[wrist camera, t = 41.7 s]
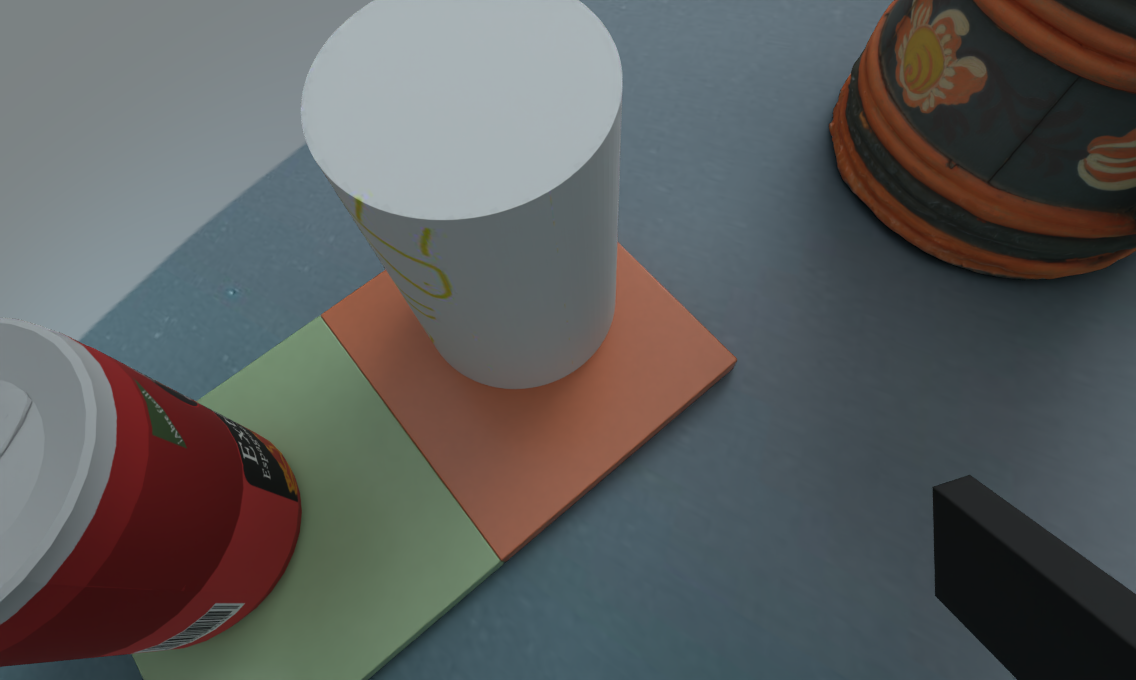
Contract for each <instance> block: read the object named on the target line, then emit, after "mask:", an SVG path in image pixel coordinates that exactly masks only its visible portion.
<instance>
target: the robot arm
mask: <svg viewBox="0 0 1136 680" xmlns="http://www.w3.org/2000/svg"><path fill="white" fill-rule="evenodd" d="M933 522H934V564H935V596H936V597H937V598H938V599H939V600H940V601H941V602H942V603H943V604H944V605H945V606H946V607H947V608H948V609H949V610H950V611H951V612H952V613H953V614H954V615H955V616H956V617H957V618H958V620H959V621H960V622H961V623H962V624H963V625H964V626H965V627H966V628H967V629H968V630H969V631H970V632H971V633H972V634H973V635H974V636H975V637H976V638H977V639H978V640H979V641H980V642H981V643H982V644H983V645H984V646H985V647H986V648H987V649H988V650H989V651H990V652H991V653H992V654H993V655H994V656H995V657H996V658H997V659H998V660H999V661H1000V662H1001V663H1002V664H1003V665H1004V666H1005V668H1006V669H1007V670H1008V671H1009V672H1010V673H1011V674H1012V675H1013V676H1014V677H1015V678H1016V679H1017V680H1136V594H1135V593H1133V592H1132V591H1130V590H1129V589H1128V588H1126V587H1125V586H1123V585H1122V584H1121V583H1119V582H1118V581H1117V580H1115V579H1114V578H1112V577H1111V576H1110V575H1108V574H1107V573H1105V572H1104V571H1103V570H1101V569H1100V568H1098V567H1097V566H1096V565H1094V564H1093V563H1092V562H1090V561H1089V560H1087V559H1086V558H1085V557H1083V556H1082V555H1080V554H1079V553H1078V552H1076V551H1075V550H1073V549H1072V548H1071V547H1069V546H1068V545H1067V544H1065V543H1064V542H1062V541H1061V540H1060V539H1058V538H1057V537H1055V536H1054V535H1053V534H1051V533H1050V532H1048V531H1047V530H1046V529H1044V528H1043V527H1042V526H1040V525H1039V524H1037V523H1036V522H1035V521H1033V520H1032V519H1030V518H1029V517H1028V516H1026V515H1025V514H1024V513H1022V512H1021V511H1019V510H1018V509H1017V508H1015V507H1014V506H1012V505H1011V504H1010V503H1008V502H1007V501H1005V500H1004V499H1003V498H1001V497H1000V496H999V495H997V494H996V493H994V492H993V491H992V490H990V489H989V488H987V487H986V486H985V485H983V484H982V483H980V482H979V481H978V480H976V479H975V478H974V477H972V476H971V475H968V476H965V477H962V478H959V479H955V480H952V481H949V482H946V483H943V484H940V485H937V486H934V487H933Z"/></svg>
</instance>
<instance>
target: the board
mask: <svg viewBox="0 0 1136 680" xmlns="http://www.w3.org/2000/svg"><path fill="white" fill-rule="evenodd" d="M736 362H737V358H736V357H735V356H734V355H733V354H732V353H731V352H730V351H728V350H727V349H726V348H725V347H724V346H723V345H722V344H721V343H720V342H719V341H718V340H717V339H716V338H715V337H714V336H713V335H712V334H711V333H710V332H709V331H708V330H707V329H706V328H705V327H704V326H703V325H702V324H701V323H700V322H699V321H698V320H697V319H696V318H695V317H694V316H693V315H692V314H691V313H690V312H689V311H688V310H687V309H686V308H685V307H684V306H683V305H681V304H680V303H679V302H678V301H677V300H676V299H675V298H674V297H673V296H672V295H671V294H670V293H669V292H668V291H667V290H666V289H665V288H664V287H663V286H662V285H661V284H660V283H659V282H658V281H657V280H656V279H655V278H654V277H653V276H652V275H651V274H650V273H649V272H648V271H647V270H646V269H645V268H644V267H643V266H642V265H641V264H640V263H639V262H638V261H637V260H636V259H634V258H633V257H632V256H631V255H630V254H629V253H628V252H627V251H626V250H625V249H624V248H623V247H622V246H621V245H620V244H619V243H618V242H617V268H616V299H615V311H614V316H613V320H612V323H611V326H610V329H609V331H608V333H607V335H606V337H605V339H604V341H603V342H602V344H601V345H600V347H599V348H598V349H597V351H596V352H595V353H594V354H593V355H592V356H591V358H589V359H588V360H587V361H586V362H585V363H584V364H583V365H582V366H581V367H579V368H578V369H576V370H575V371H574V372H572V373H570V374H569V375H567V376H565V377H563V378H561V379H559V380H557V381H554V382H552V383H549V384H546V385H542V386H538V387H533V388H525V389H504V388H497V387H492V386H488V385H485V384H482V383H479V382H476V381H474V380H472V379H470V378H468V377H466V376H464V375H463V374H461V373H460V372H458V371H457V370H456V369H454V368H453V367H452V366H451V365H450V364H449V363H448V362H447V361H446V360H445V359H444V358H443V357H442V355H441V354H440V353H439V351H438V350H437V348H436V347H435V345H434V344H433V342H432V341H431V339H430V338H429V336H428V334H427V333H426V331H425V330H424V328H423V327H422V325H421V324H420V322H419V320H418V319H417V317H416V316H415V314H414V313H413V311H412V310H411V308H410V306H409V305H408V303H407V302H406V300H405V299H404V297H403V296H402V294H401V293H400V291H399V289H398V288H397V286H396V285H395V283H394V282H393V280H392V279H391V277H390V275H389V274H388V272H387V271H386V270H385V271H383V272H382V273H380V274H379V275H377V276H376V277H375V278H373V279H372V280H370V281H369V282H367V283H366V284H364V285H363V286H362V287H360V288H359V289H357V290H356V291H354V292H353V293H352V294H350V295H349V296H347V297H346V298H344V299H343V300H341V301H340V302H339V303H337V304H336V305H334V306H333V307H331V308H330V309H329V310H327V311H326V312H324V313H323V314H322V315H321V316H318V317H317V318H315V319H314V320H313V321H311V322H310V323H308V324H307V325H305V326H304V327H302V328H301V329H300V330H298V331H297V332H295V333H294V334H292V335H291V336H290V337H288V338H287V339H285V340H284V341H282V342H281V343H279V344H278V345H277V346H275V347H274V348H272V349H271V350H269V351H268V352H267V353H265V354H264V355H262V356H261V357H259V358H258V359H256V360H255V361H254V362H252V363H251V364H249V365H248V366H246V367H245V368H244V369H242V370H241V371H239V372H238V373H236V374H235V375H233V376H232V377H231V378H229V379H228V380H226V381H225V382H223V383H222V384H221V385H219V386H218V387H216V388H215V389H213V390H212V391H210V392H209V393H208V394H206V395H205V396H203V397H202V398H200V399H199V400H198V401H196V402H198V403H200V404H202V405H203V406H205V407H207V408H209V409H211V410H213V411H215V412H217V413H219V414H221V415H223V416H225V417H227V418H228V419H230V420H232V421H234V422H236V423H238V424H240V425H242V426H244V427H246V428H248V429H250V430H251V431H253V432H255V433H257V434H259V435H260V436H262V437H264V438H265V439H267V440H269V441H270V442H271V443H272V444H273V445H274V446H275V447H276V448H277V449H278V450H279V451H280V452H281V453H282V454H283V456H284V458H285V459H286V461H287V463H288V465H289V466H290V468H291V470H292V472H293V474H294V476H295V478H296V482H297V485H298V488H299V491H300V497H301V508H302V515H301V525H300V533H299V537H298V540H297V544H296V547H295V551H294V553H293V555H292V558H291V560H290V562H289V564H288V566H287V568H286V570H285V572H284V574H283V575H282V577H281V578H280V580H279V581H278V583H277V584H276V586H275V587H274V589H273V590H272V592H271V593H270V594H269V595H268V596H267V597H266V598H265V599H264V600H263V601H262V602H261V603H260V604H259V606H258V607H257V608H256V609H254V610H253V611H252V612H251V613H249V614H248V615H247V616H245V617H244V618H243V619H242V620H240V621H239V622H238V623H236V624H235V625H233V626H232V627H230V628H229V629H227V630H225V631H223V632H221V633H220V634H218V635H216V636H214V637H212V638H210V639H209V640H207V641H204V642H201V643H198V644H195V645H192V646H189V647H186V648H181V649H173V650H164V651H155V652H144V653H134V654H132V656H133V658H134V660H135V662H136V664H137V667H138V669H139V671H140V673H141V675H142V677H143V679H144V680H368V679H369V678H370V677H371V676H373V675H374V674H375V673H376V672H377V671H379V670H380V669H381V668H382V667H383V666H384V665H386V664H387V663H388V662H389V661H390V660H391V659H393V658H394V657H395V656H396V655H397V654H398V653H400V652H401V651H402V650H403V649H404V648H406V647H407V646H408V645H409V644H410V643H411V642H413V641H414V640H415V639H416V638H417V637H418V636H420V635H421V634H422V633H423V632H424V631H425V630H427V629H428V628H429V627H430V626H431V625H433V624H434V623H435V622H436V621H437V620H438V619H440V618H441V617H442V616H443V615H444V614H445V613H447V612H448V611H449V610H450V609H451V608H452V607H454V606H455V605H456V604H457V603H458V602H460V601H461V600H462V599H463V598H464V597H465V596H467V595H468V594H469V593H470V592H471V591H472V590H474V589H475V588H476V587H477V586H478V585H479V584H481V583H482V582H483V581H484V580H485V579H487V578H488V577H489V576H490V575H491V574H492V573H494V572H495V571H496V570H497V569H498V568H499V567H501V566H502V565H503V564H504V562H506V561H508V560H509V559H510V558H511V557H512V556H513V555H515V554H516V553H517V552H518V551H519V550H521V549H522V548H523V547H524V546H525V545H526V544H528V543H529V542H530V541H531V540H532V539H533V538H535V537H536V536H537V535H538V534H539V533H540V532H542V531H543V530H544V529H545V528H546V527H548V526H549V525H550V524H551V523H552V522H553V521H555V520H556V519H557V518H558V517H559V516H560V515H562V514H563V513H564V512H565V511H566V510H567V509H569V508H570V507H571V506H572V505H573V504H575V503H576V502H577V501H578V500H579V499H580V498H582V497H583V496H584V495H585V494H586V493H587V492H589V491H590V490H591V489H592V488H593V487H594V486H596V485H597V484H598V483H599V482H600V481H602V480H603V479H604V478H605V477H606V476H607V475H609V474H610V473H611V472H612V471H613V470H614V469H616V468H617V467H618V466H619V465H620V464H621V463H623V462H624V461H625V460H626V459H627V458H629V457H630V456H631V455H632V454H633V453H634V452H636V451H637V450H638V449H639V448H640V447H641V446H643V445H644V444H645V443H646V442H647V441H648V440H650V439H651V438H652V437H653V436H654V435H656V434H657V433H658V432H659V431H660V430H661V429H663V428H664V427H665V426H666V425H667V424H668V423H670V422H671V421H672V420H673V419H674V418H675V417H677V416H678V415H679V414H680V413H681V412H683V411H684V410H685V409H686V408H687V407H688V406H690V405H691V404H692V403H693V402H694V401H695V400H697V399H698V398H699V397H700V396H701V395H702V394H704V393H705V392H706V391H707V390H708V389H710V388H711V387H712V386H713V385H714V384H715V383H717V382H718V381H719V380H720V379H721V378H722V377H724V376H725V375H726V374H727V373H728V372H729V371H731V370H732V369H733V367H734V366H735V364H736Z"/></svg>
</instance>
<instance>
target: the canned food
mask: <svg viewBox="0 0 1136 680" xmlns="http://www.w3.org/2000/svg"><path fill="white" fill-rule="evenodd" d="M301 515H302V508H301V497H300V491H299V488H298V485H297V482H296V478H295V476H294V474H293V472H292V470H291V468H290V466H289V465H288V463H287V461H286V459H285V458H284V456H283V454H282V453H281V452H280V451H279V450H278V449H277V448H276V447H275V446H274V445H273V444H272V443H271V442H270V441H269V440H267V439H265V438H264V437H262V436H260V435H259V434H257V433H255V432H253V431H251V430H250V429H248V428H246V427H244V426H242V425H240V424H238V423H236V422H234V421H232V420H230V419H228V418H227V417H225V416H223V415H221V414H219V413H217V412H215V411H213V410H211V409H209V408H207V407H205V406H203V405H202V404H200V403H198V402H196V401H194V400H192V399H190V398H188V397H186V396H184V395H182V394H180V393H179V392H177V391H175V390H173V389H171V388H169V387H167V386H165V385H163V384H161V383H159V382H157V381H155V380H154V379H152V378H150V377H148V376H146V375H144V374H142V373H140V372H138V371H136V370H134V369H132V368H131V367H129V366H127V365H125V364H123V363H121V362H119V361H117V360H115V359H113V358H111V357H109V356H107V355H106V354H104V353H102V352H100V351H98V350H96V349H94V348H91V347H89V346H86V345H84V344H82V343H80V342H78V341H76V340H74V339H72V338H70V337H68V336H66V335H64V334H62V333H60V332H56V331H53V330H49V329H47V328H45V327H43V326H39V325H36V324H33V323H29V322H26V321H23V320H19V319H13V318H12V319H11V318H0V667H2V666H12V665H22V664H32V663H42V662H53V661H63V660H73V659H83V658H93V657H104V656H114V655H124V654H134V653H144V652H155V651H164V650H173V649H181V648H186V647H189V646H192V645H195V644H198V643H201V642H204V641H207V640H209V639H210V638H212V637H214V636H216V635H218V634H220V633H221V632H223V631H225V630H227V629H229V628H230V627H232V626H233V625H235V624H236V623H238V622H239V621H240V620H242V619H243V618H244V617H245V616H247V615H248V614H249V613H251V612H252V611H253V610H254V609H256V608H257V607H258V606H259V604H260V603H261V602H262V601H263V600H264V599H265V598H266V597H267V596H268V595H269V594H270V593H271V592H272V590H273V589H274V587H275V586H276V584H277V583H278V581H279V580H280V578H281V577H282V575H283V574H284V572H285V570H286V568H287V566H288V564H289V562H290V560H291V558H292V555H293V553H294V551H295V547H296V544H297V540H298V537H299V533H300V525H301Z"/></svg>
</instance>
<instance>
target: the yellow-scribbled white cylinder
mask: <svg viewBox="0 0 1136 680" xmlns="http://www.w3.org/2000/svg"><path fill="white" fill-rule="evenodd" d="M622 83H623V80H622V68H621V62H620V58H619V54H618V51H617V48H616V46H615V43H614V41H613V39H612V37H611V35H610V34H609V32H608V30H607V29H606V27H605V26H604V25H603V23H602V22H601V21H600V19H599V18H598V17H597V16H596V15H595V14H594V13H593V12H592V11H591V10H590V9H589V8H588V7H586V6H585V5H584V4H583V3H581V2H580V1H579V0H374V1H372V2H371V3H369V4H368V5H366V6H365V7H363V8H362V9H360V10H359V11H358V12H356V13H355V14H354V15H352V16H351V17H350V18H349V19H348V20H347V21H345V22H344V23H343V24H342V25H341V26H340V27H339V28H338V29H337V30H336V31H335V32H334V33H333V34H332V36H331V37H330V38H329V39H328V40H327V42H326V43H325V45H324V46H323V47H322V49H321V50H320V52H319V53H318V55H317V57H316V58H315V60H314V62H313V64H312V66H311V68H310V71H309V73H308V75H307V78H306V82H305V85H304V89H303V94H302V102H301V119H302V126H303V132H304V135H305V138H306V142H307V145H308V147H309V149H310V151H311V153H312V155H313V157H314V159H315V160H316V162H317V164H318V165H319V167H320V168H321V170H322V171H323V173H324V174H325V176H326V178H327V179H328V181H329V182H330V184H331V185H332V187H333V188H334V190H335V192H336V193H337V195H338V196H339V198H340V199H341V201H342V202H343V204H344V206H345V207H346V209H347V210H348V212H349V213H350V215H351V216H352V218H353V220H354V221H355V223H356V224H357V226H358V227H359V229H360V230H361V232H362V233H363V235H364V237H365V238H366V240H367V241H368V243H369V244H370V246H371V247H372V249H373V251H374V252H375V254H376V255H377V257H378V258H379V260H380V261H381V263H382V265H383V266H384V268H385V269H386V271H387V272H388V274H389V275H390V277H391V279H392V280H393V282H394V283H395V285H396V286H397V288H398V289H399V291H400V293H401V294H402V296H403V297H404V299H405V300H406V302H407V303H408V305H409V306H410V308H411V310H412V311H413V313H414V314H415V316H416V317H417V319H418V320H419V322H420V324H421V325H422V327H423V328H424V330H425V331H426V333H427V334H428V336H429V338H430V339H431V341H432V342H433V344H434V345H435V347H436V348H437V350H438V351H439V353H440V354H441V355H442V357H443V358H444V359H445V360H446V361H447V362H448V363H449V364H450V365H451V366H452V367H453V368H454V369H456V370H457V371H458V372H460V373H461V374H463V375H464V376H466V377H468V378H470V379H472V380H474V381H476V382H479V383H482V384H485V385H488V386H492V387H497V388H504V389H525V388H533V387H538V386H542V385H546V384H549V383H552V382H554V381H557V380H559V379H561V378H563V377H565V376H567V375H569V374H570V373H572V372H574V371H575V370H576V369H578V368H579V367H581V366H582V365H583V364H584V363H585V362H586V361H587V360H588V359H589V358H591V356H592V355H593V354H594V353H595V352H596V351H597V349H598V348H599V347H600V345H601V344H602V342H603V341H604V339H605V337H606V335H607V333H608V331H609V329H610V326H611V323H612V320H613V316H614V311H615V299H616V268H617V237H618V207H619V176H620V145H621V114H622Z"/></svg>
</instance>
